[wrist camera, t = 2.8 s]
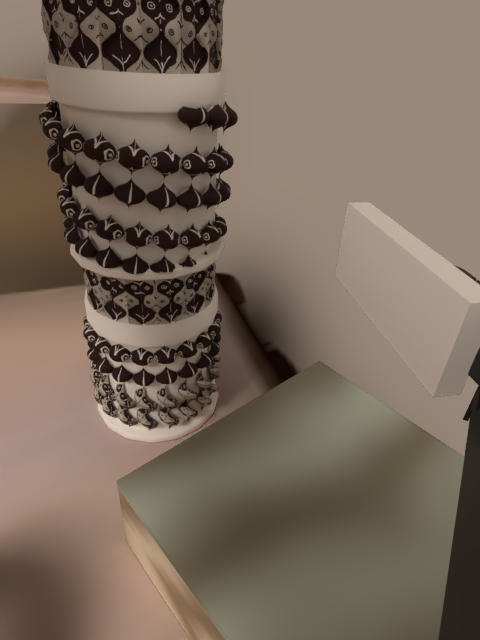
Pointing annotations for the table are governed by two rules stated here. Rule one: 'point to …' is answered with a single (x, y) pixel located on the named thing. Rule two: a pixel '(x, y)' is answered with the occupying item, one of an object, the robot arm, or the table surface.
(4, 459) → the table surface
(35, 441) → the table surface
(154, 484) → the riser
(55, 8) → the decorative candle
